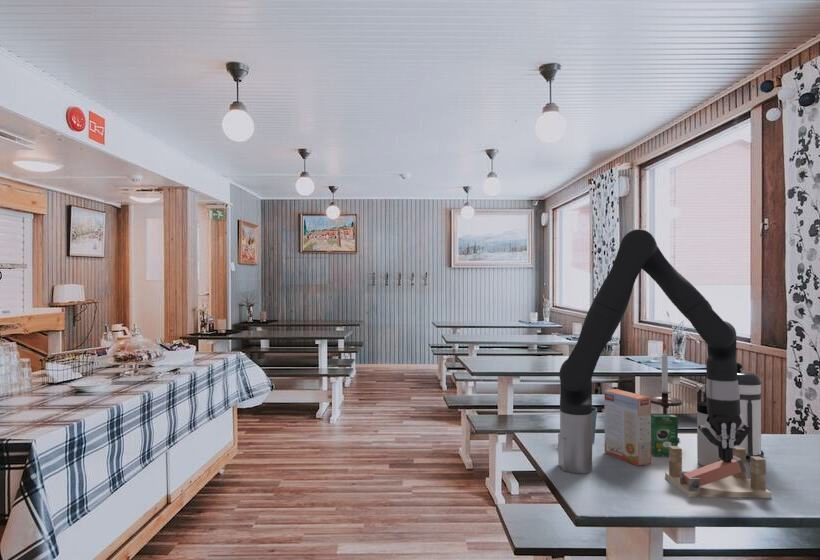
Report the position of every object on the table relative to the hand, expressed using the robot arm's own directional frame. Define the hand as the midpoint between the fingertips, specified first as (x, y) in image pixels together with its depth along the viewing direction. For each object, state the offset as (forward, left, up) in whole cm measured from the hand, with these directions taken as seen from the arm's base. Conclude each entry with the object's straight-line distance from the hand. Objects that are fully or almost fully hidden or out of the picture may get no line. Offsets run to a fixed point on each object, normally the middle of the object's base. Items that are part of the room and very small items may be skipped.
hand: (726, 460), depth 130 cm
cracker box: (-16, +26, -9) cm, 31 cm away
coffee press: (+22, +31, -9) cm, 39 cm away
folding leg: (-10, 0, -5) cm, 11 cm away
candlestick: (+5, +45, -9) cm, 46 cm away
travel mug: (+6, +19, -9) cm, 22 cm away
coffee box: (-3, +29, -9) cm, 30 cm away
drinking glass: (-25, +43, -9) cm, 50 cm away
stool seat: (-1, +4, -9) cm, 10 cm away
